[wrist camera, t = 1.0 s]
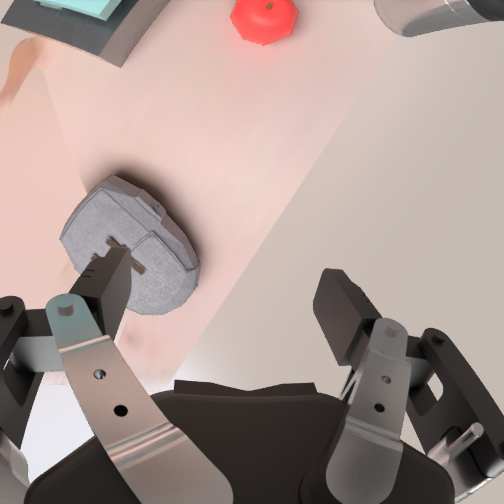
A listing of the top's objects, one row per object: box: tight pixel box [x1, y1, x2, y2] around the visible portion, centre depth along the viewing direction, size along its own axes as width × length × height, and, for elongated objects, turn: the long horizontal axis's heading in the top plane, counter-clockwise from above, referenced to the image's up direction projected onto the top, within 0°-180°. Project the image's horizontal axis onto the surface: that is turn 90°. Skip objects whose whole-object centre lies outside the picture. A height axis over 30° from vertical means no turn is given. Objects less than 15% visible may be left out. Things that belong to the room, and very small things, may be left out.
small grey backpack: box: [60, 175, 200, 315], centre depth 35 cm, size 15×8×20 cm
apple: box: [230, 0, 299, 45], centre depth 25 cm, size 8×8×8 cm
